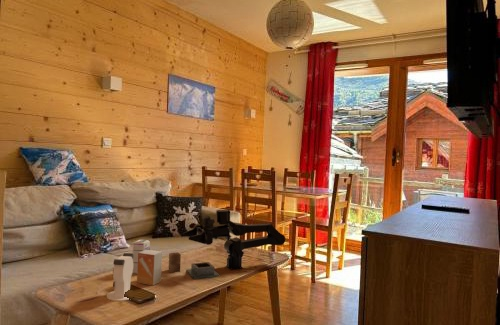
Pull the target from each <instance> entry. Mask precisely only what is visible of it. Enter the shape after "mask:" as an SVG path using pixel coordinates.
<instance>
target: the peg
mask: <svg viewBox="0 0 500 325" xmlns="http://www.w3.org/2000/svg"><path fill="white" fill-rule="evenodd" d="M181 258H182V256H181V253H180V252H176V251H175V252H169V253H168V271H169V272H170V273H177V272H178V273H179V272H181Z"/></svg>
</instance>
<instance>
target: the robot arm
mask: <svg viewBox="0 0 500 325" xmlns="http://www.w3.org/2000/svg"><path fill="white" fill-rule="evenodd" d="M215 215H216V217H215V218H216V222H215V219H214V218H211V216H210V215H208V214H206V215H205V216H202V217H200V218H201V221H202V223H203V225H201V224H200V223H196V224H194V226H193V228H192V229H189V230H187V231H185V232H183V233H182V234H183V236H184V237H185V236H186V237H188V240H189V241H192V242H196V243H199V244H203V245H206V246H209V245H212V244H213V243H214V240H218V238H224V239H225V240H226V241H225V242H224V244H223V249H224V250H225V251H226V253H227V254H228V255H227V258H226V265H225V266H226V267H227V268H228V269H230V270H240V269H243V268H244V266H242V263H243V261H242V260H243V257H244V254H245V252H244V250H246V249H252V248H256V247H263V246H267V245H268V246H269V245H270V246H283V245H284V243H286V236H285V235H284V234H282V233H281V232H280V231H279V230H278V229H276V227H275V226H274V225H272V224H271V223H268V222H266V223H253V224H251V223H250V224H249V223H248V224H245V223H239V222H233V221H231V210H229V209H217V210H216V211H215ZM215 223H218V225H214V224H215ZM248 233H249V234H250V233H252V234H253V233H266V234H267V235H265V236H259V237H253V238H248V239H241V238H240V237H239V236H243V235H247V234H248ZM231 234H232V235H233V236H235V237H233V238H232V235H231Z"/></svg>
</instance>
